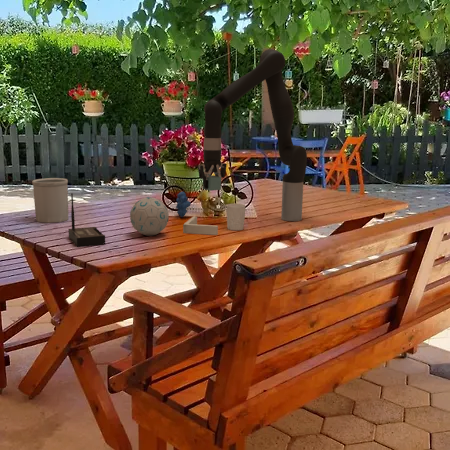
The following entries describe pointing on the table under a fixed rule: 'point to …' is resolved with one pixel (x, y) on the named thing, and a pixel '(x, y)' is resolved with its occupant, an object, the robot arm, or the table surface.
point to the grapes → (182, 204)
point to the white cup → (235, 216)
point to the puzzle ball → (149, 216)
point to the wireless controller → (84, 233)
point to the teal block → (214, 183)
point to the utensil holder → (51, 199)
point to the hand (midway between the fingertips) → (212, 187)
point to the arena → (199, 228)
